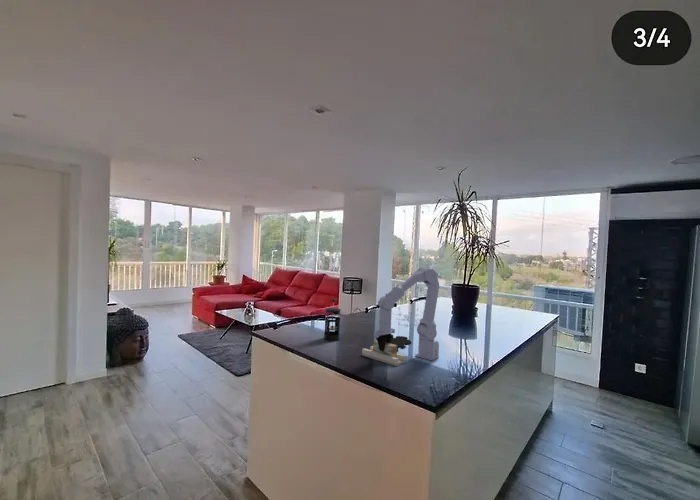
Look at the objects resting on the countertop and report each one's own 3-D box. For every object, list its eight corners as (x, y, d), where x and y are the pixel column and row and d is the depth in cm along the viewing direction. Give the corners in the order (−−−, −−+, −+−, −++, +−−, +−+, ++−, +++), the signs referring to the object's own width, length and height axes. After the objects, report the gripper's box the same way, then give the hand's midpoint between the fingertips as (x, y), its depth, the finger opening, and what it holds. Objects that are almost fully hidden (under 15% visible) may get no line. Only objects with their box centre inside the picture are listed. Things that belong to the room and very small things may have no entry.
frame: (396, 359, 153) (397, 345, 153) (392, 360, 151) (393, 346, 151) (376, 352, 161) (376, 339, 161) (372, 354, 159) (373, 340, 159)
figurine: (395, 353, 166) (418, 341, 191) (395, 351, 166) (418, 339, 191) (369, 346, 175) (394, 336, 200) (369, 345, 175) (394, 334, 200)
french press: (333, 342, 179) (335, 300, 179) (319, 339, 184) (321, 298, 184) (344, 337, 190) (346, 298, 190) (330, 335, 194) (332, 296, 194)
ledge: (406, 361, 153) (406, 355, 153) (396, 366, 147) (396, 359, 147) (372, 351, 166) (372, 345, 166) (361, 355, 160) (362, 349, 160)
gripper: (387, 318, 164) (385, 345, 164) (369, 322, 154) (367, 351, 154) (398, 320, 160) (397, 348, 160) (381, 325, 149) (379, 354, 149)
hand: (383, 350), depth 156 cm, fingers closed on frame, 3 cm apart
